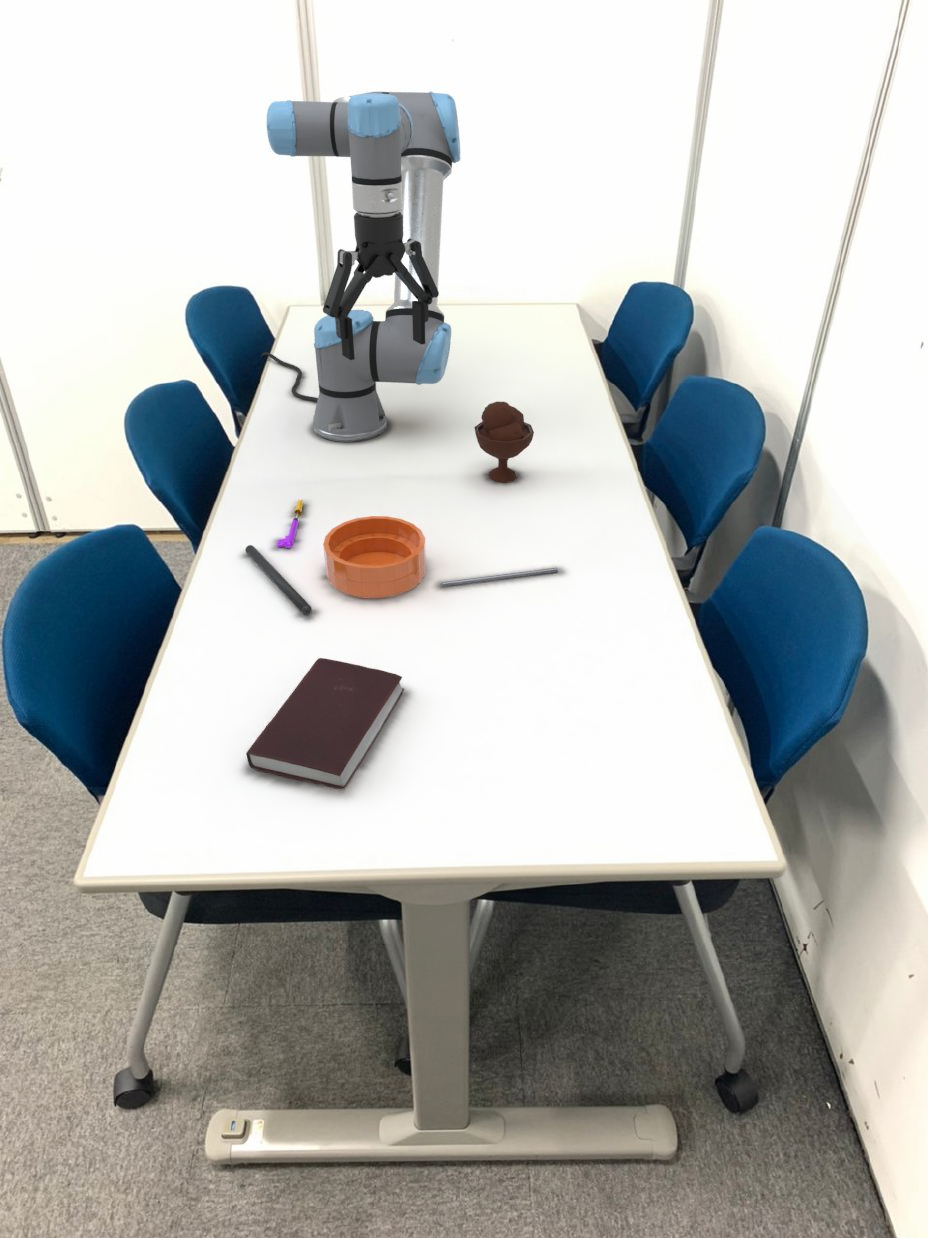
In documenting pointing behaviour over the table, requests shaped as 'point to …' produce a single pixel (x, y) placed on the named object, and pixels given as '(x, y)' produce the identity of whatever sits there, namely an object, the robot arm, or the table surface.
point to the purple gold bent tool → (290, 538)
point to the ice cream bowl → (503, 437)
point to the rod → (499, 577)
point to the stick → (279, 580)
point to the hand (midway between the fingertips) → (384, 349)
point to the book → (327, 723)
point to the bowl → (375, 556)
